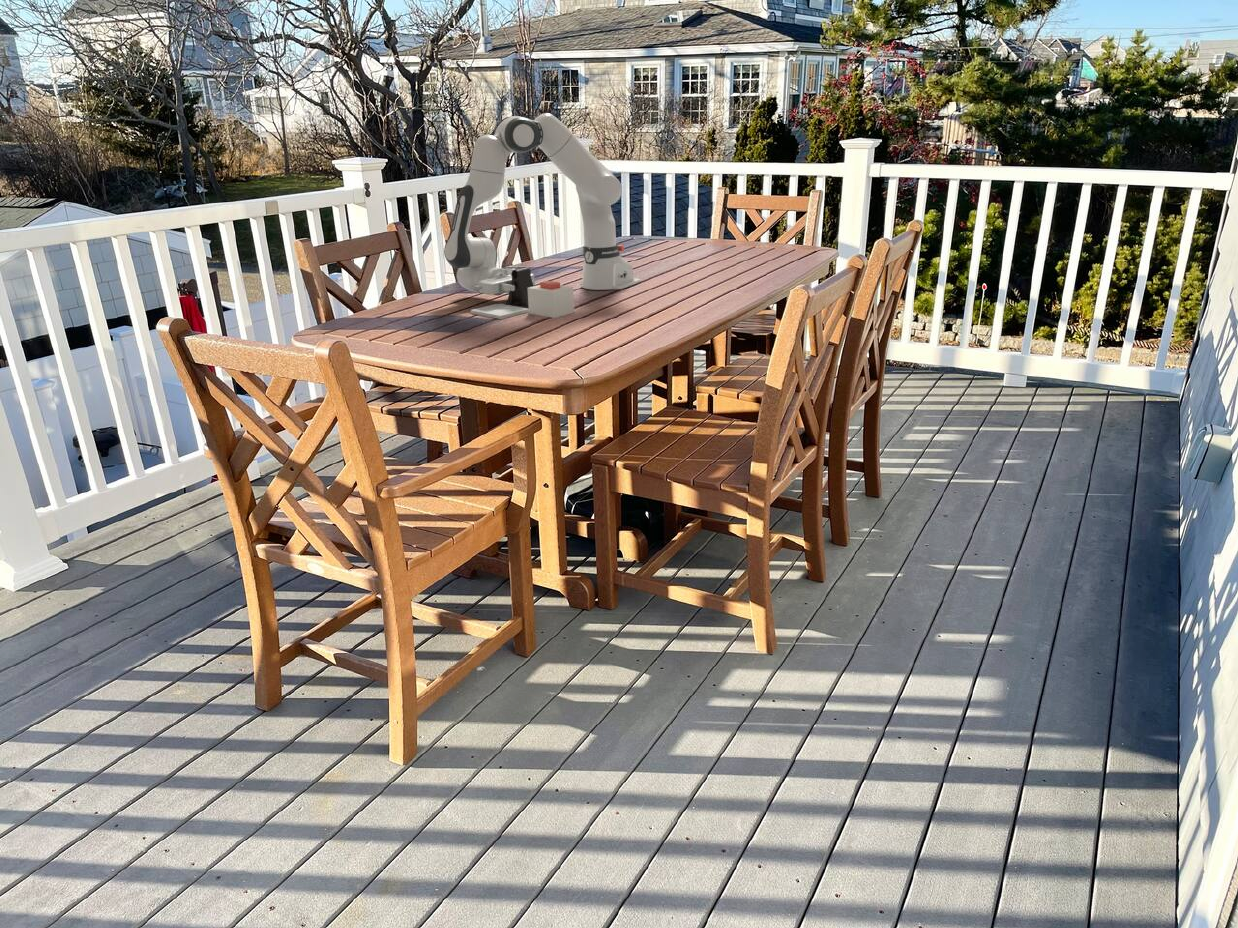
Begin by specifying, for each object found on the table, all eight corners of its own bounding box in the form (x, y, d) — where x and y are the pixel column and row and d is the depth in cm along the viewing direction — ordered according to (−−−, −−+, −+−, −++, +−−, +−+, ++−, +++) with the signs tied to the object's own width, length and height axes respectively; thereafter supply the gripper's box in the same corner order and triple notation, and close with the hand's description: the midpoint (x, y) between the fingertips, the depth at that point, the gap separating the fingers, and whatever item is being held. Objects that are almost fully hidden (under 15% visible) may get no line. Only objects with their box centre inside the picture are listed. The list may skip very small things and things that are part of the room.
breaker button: (548, 290, 281) (548, 280, 280) (560, 292, 278) (559, 282, 277) (540, 292, 278) (540, 282, 277) (552, 294, 275) (551, 284, 274)
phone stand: (506, 306, 291) (503, 269, 287) (519, 302, 296) (516, 266, 291) (527, 309, 287) (525, 271, 282) (539, 305, 291) (537, 268, 286)
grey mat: (499, 306, 291) (499, 303, 291) (529, 311, 283) (528, 308, 282) (470, 313, 283) (470, 310, 283) (500, 319, 275) (500, 315, 274)
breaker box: (549, 308, 287) (548, 283, 284) (574, 312, 280) (573, 287, 277) (529, 313, 281) (527, 287, 278) (553, 318, 274) (552, 292, 271)
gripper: (469, 277, 288) (498, 281, 280) (516, 267, 302) (545, 271, 294) (471, 296, 291) (500, 301, 282) (517, 286, 305) (546, 290, 296)
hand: (523, 286), depth 288 cm, fingers closed on phone stand, 6 cm apart
